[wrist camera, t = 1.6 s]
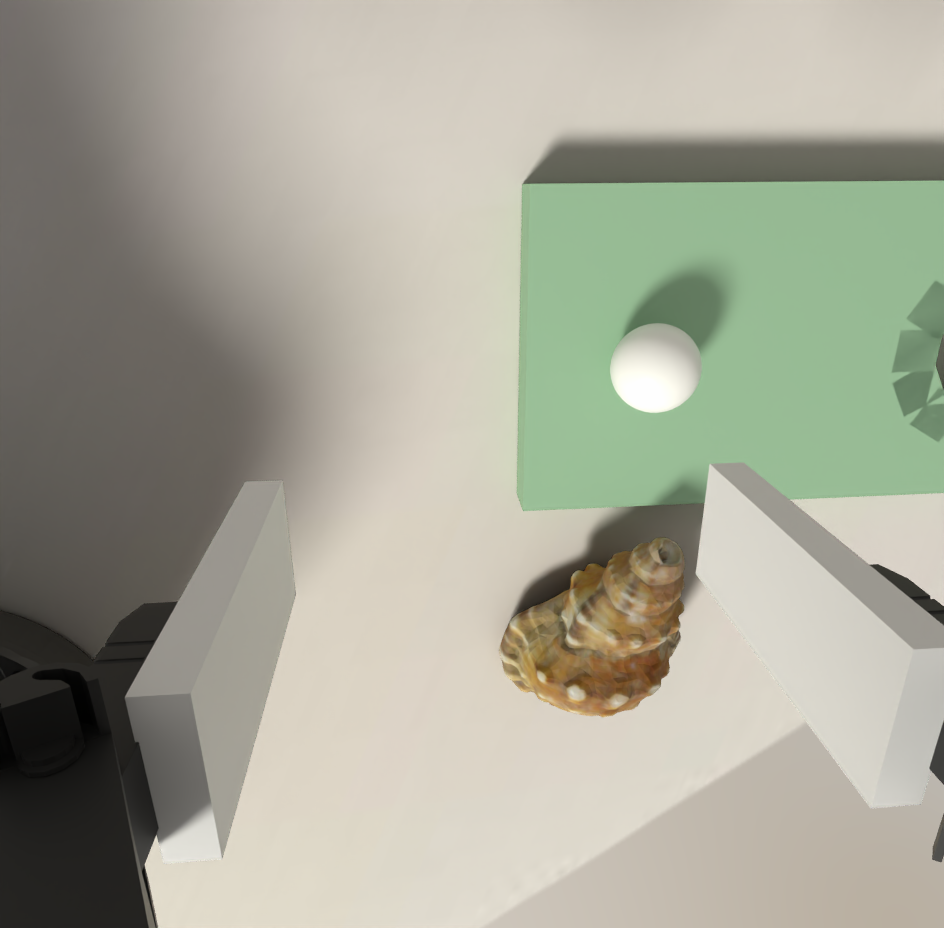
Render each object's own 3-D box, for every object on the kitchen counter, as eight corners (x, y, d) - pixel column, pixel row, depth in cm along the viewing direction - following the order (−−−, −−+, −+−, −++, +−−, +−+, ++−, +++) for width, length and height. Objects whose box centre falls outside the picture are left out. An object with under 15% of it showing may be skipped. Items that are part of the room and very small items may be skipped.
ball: (597, 399, 31) (621, 425, 27) (603, 317, 29) (627, 333, 26) (678, 397, 31) (710, 423, 27) (686, 315, 29) (722, 331, 26)
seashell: (491, 535, 38) (568, 535, 29) (623, 537, 41) (735, 538, 31) (488, 708, 37) (566, 768, 28) (624, 701, 40) (739, 754, 30)
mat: (516, 493, 34) (522, 510, 32) (522, 184, 29) (529, 183, 27) (1053, 471, 36) (1088, 486, 34) (1147, 179, 31) (1194, 178, 29)
